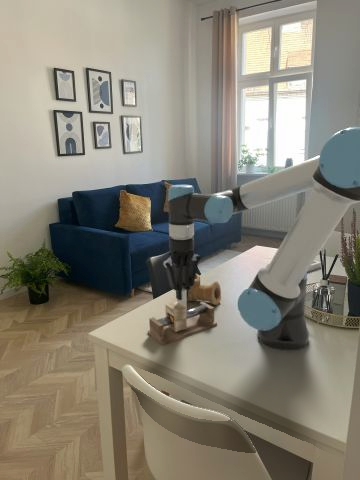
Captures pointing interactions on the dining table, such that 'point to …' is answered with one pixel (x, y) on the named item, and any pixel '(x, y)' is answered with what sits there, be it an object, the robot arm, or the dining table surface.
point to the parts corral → (314, 265)
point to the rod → (189, 314)
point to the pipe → (204, 292)
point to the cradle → (193, 326)
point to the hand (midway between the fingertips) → (182, 307)
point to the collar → (176, 315)
